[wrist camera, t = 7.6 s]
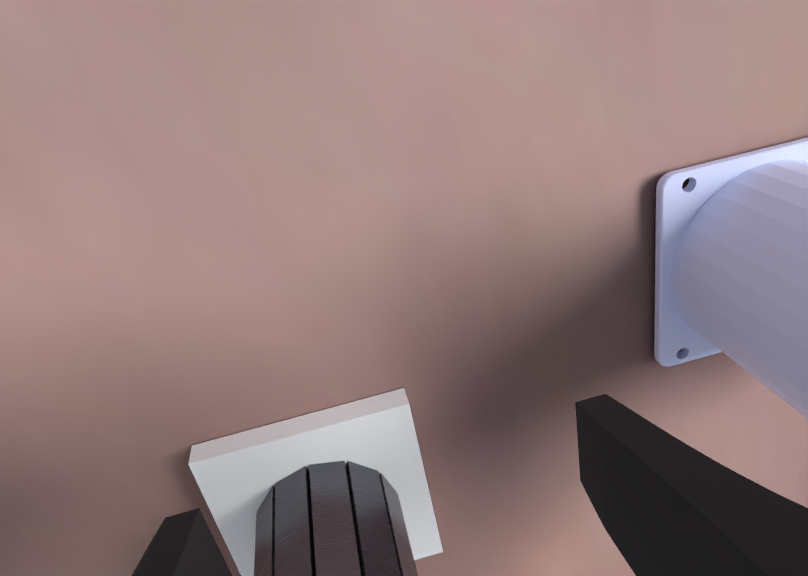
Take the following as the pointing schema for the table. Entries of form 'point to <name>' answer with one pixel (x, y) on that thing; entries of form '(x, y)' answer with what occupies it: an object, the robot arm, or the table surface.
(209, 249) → the table surface
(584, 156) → the table surface
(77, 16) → the table surface
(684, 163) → the table surface
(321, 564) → the gray grooved hollow cylinder
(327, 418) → the white square peg stand
